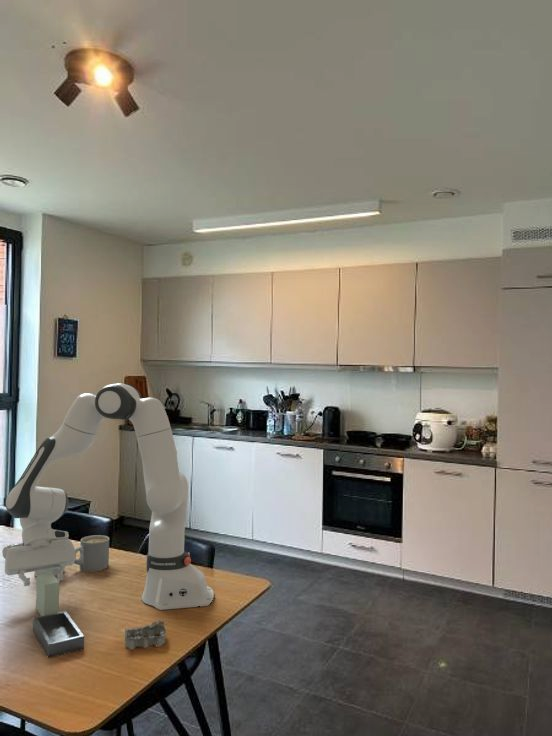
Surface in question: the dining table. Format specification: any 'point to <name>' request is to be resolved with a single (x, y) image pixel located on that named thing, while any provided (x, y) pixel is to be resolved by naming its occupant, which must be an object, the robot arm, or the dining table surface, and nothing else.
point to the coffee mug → (93, 553)
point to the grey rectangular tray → (58, 634)
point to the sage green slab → (47, 594)
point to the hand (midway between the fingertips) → (44, 582)
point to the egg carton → (145, 631)
